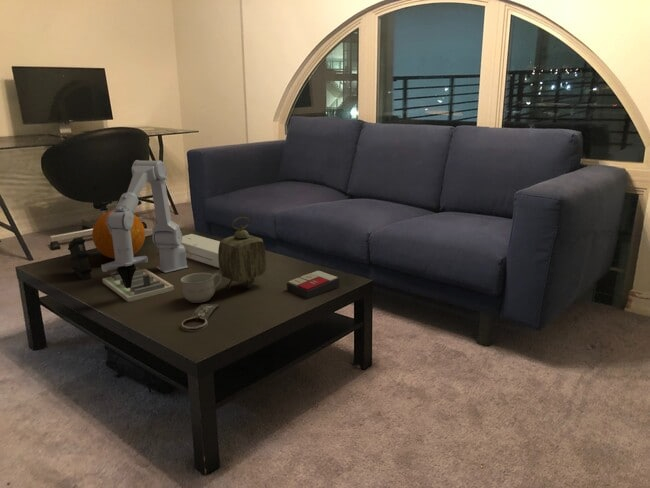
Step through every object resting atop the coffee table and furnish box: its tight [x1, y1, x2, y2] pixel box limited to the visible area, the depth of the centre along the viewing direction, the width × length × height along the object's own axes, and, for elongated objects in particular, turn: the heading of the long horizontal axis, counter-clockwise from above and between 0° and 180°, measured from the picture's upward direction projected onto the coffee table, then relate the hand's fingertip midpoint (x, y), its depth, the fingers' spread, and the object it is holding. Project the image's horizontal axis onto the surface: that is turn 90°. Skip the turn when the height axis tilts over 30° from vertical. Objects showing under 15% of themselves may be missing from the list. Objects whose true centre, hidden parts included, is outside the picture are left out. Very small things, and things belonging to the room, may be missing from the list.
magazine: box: [67, 236, 92, 281], centre depth 203 cm, size 4×13×15 cm, turn 40°
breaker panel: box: [101, 266, 175, 303], centre depth 192 cm, size 16×24×3 cm, turn 40°
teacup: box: [180, 272, 223, 304], centre depth 180 cm, size 14×11×8 cm
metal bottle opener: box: [180, 303, 221, 332], centre depth 166 cm, size 8×19×2 cm, turn 171°
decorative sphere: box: [91, 209, 146, 260], centre depth 221 cm, size 20×20×20 cm
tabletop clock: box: [218, 216, 267, 290], centre depth 187 cm, size 14×9×25 cm, turn 135°
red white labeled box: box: [286, 270, 341, 299], centre depth 188 cm, size 11×4×15 cm
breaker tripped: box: [143, 274, 150, 287], centre depth 185 cm, size 2×2×5 cm
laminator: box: [181, 233, 220, 269], centre depth 224 cm, size 34×12×6 cm, turn 49°
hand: (128, 287), depth 181 cm, fingers closed
